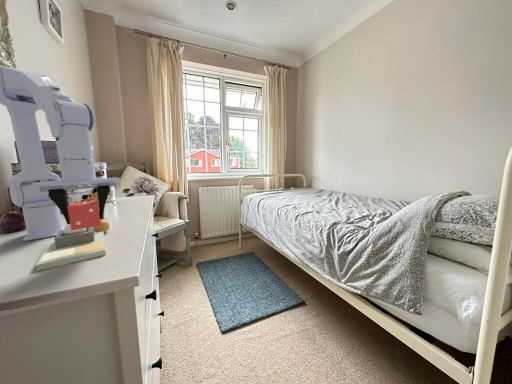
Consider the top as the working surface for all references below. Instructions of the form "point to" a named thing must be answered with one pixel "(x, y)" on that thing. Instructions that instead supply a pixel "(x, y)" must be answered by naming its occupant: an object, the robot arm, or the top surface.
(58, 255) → the board
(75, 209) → the die
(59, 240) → the housing
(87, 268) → the top surface
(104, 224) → the figurine
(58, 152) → the robot arm
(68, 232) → the white ball
